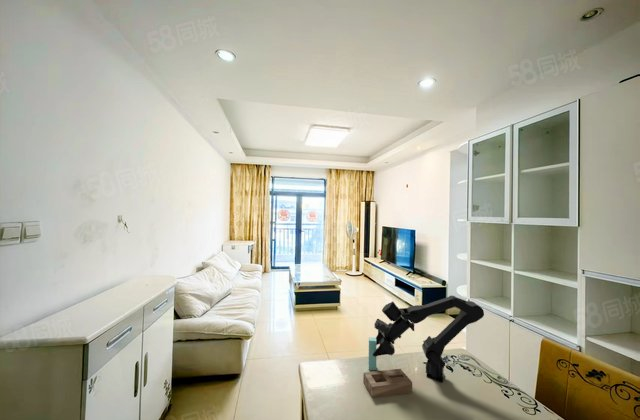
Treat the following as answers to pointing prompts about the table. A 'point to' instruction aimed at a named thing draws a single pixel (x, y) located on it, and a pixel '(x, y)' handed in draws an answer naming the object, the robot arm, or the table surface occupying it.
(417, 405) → the table surface
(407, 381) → the bore block
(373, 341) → the teal square peg
